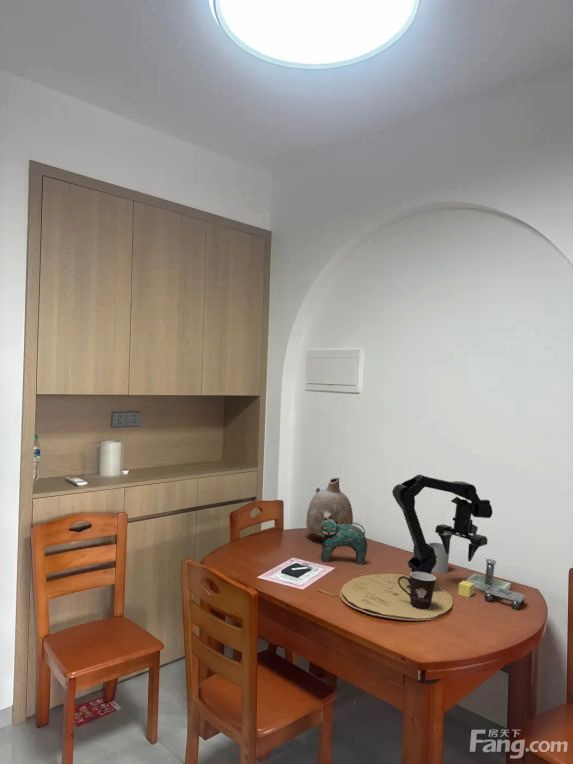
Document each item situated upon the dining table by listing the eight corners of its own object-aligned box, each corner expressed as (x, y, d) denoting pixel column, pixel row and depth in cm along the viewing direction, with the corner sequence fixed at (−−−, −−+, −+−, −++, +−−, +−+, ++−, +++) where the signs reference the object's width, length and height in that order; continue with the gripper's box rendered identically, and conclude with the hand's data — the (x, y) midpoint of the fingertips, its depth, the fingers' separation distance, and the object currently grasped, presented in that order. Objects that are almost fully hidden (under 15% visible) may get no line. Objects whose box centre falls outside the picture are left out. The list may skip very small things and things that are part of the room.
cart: (525, 603, 196) (526, 593, 196) (519, 610, 188) (519, 600, 188) (490, 593, 203) (491, 584, 203) (483, 600, 195) (484, 590, 195)
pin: (491, 588, 207) (494, 562, 207) (482, 585, 209) (484, 560, 210) (494, 586, 210) (497, 560, 210) (484, 583, 212) (487, 558, 212)
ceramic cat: (318, 562, 222) (322, 513, 223) (316, 557, 229) (320, 509, 229) (366, 566, 223) (370, 517, 223) (363, 561, 230) (367, 513, 230)
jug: (300, 532, 266) (305, 471, 266) (342, 534, 270) (347, 474, 270) (311, 548, 242) (317, 480, 242) (357, 549, 246) (363, 483, 246)
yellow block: (468, 597, 197) (469, 586, 197) (457, 594, 200) (458, 583, 200) (473, 594, 201) (474, 583, 201) (462, 591, 204) (463, 580, 204)
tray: (502, 596, 202) (503, 589, 202) (465, 585, 209) (466, 579, 210) (510, 589, 210) (510, 582, 210) (474, 579, 218) (474, 573, 218)
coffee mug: (437, 607, 185) (440, 577, 185) (425, 613, 179) (428, 582, 179) (407, 596, 193) (409, 567, 193) (394, 601, 186) (397, 572, 187)
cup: (439, 566, 232) (441, 542, 232) (451, 572, 224) (453, 548, 225) (422, 566, 229) (424, 542, 229) (434, 573, 221) (436, 548, 222)
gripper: (496, 520, 204) (492, 562, 204) (452, 509, 218) (447, 548, 218) (482, 523, 197) (477, 566, 196) (436, 510, 211) (432, 551, 210)
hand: (458, 557), depth 205 cm, fingers open, 9 cm apart
